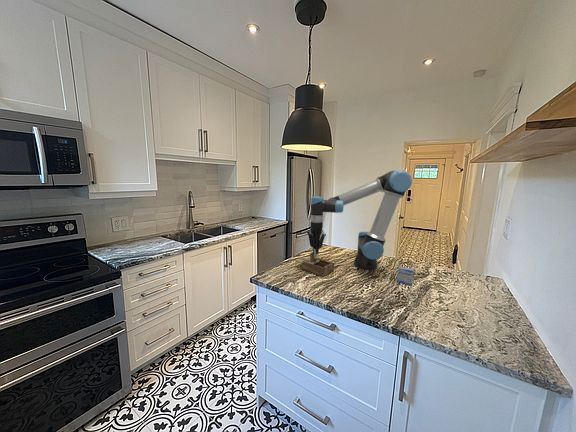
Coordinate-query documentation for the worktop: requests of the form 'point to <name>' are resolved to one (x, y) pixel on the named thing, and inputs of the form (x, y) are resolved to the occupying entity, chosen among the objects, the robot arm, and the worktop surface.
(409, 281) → the medicine box
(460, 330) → the worktop surface
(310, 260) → the cover plate
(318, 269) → the walnut box
